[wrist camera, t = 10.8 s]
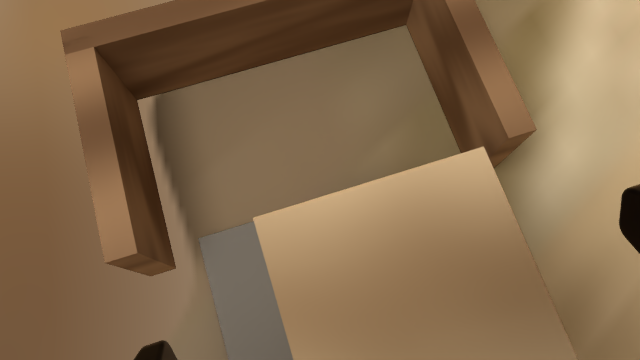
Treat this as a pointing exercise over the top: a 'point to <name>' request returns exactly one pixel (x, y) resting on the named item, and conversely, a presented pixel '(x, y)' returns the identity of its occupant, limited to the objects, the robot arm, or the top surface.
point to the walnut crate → (247, 52)
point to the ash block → (411, 271)
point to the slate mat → (244, 295)
